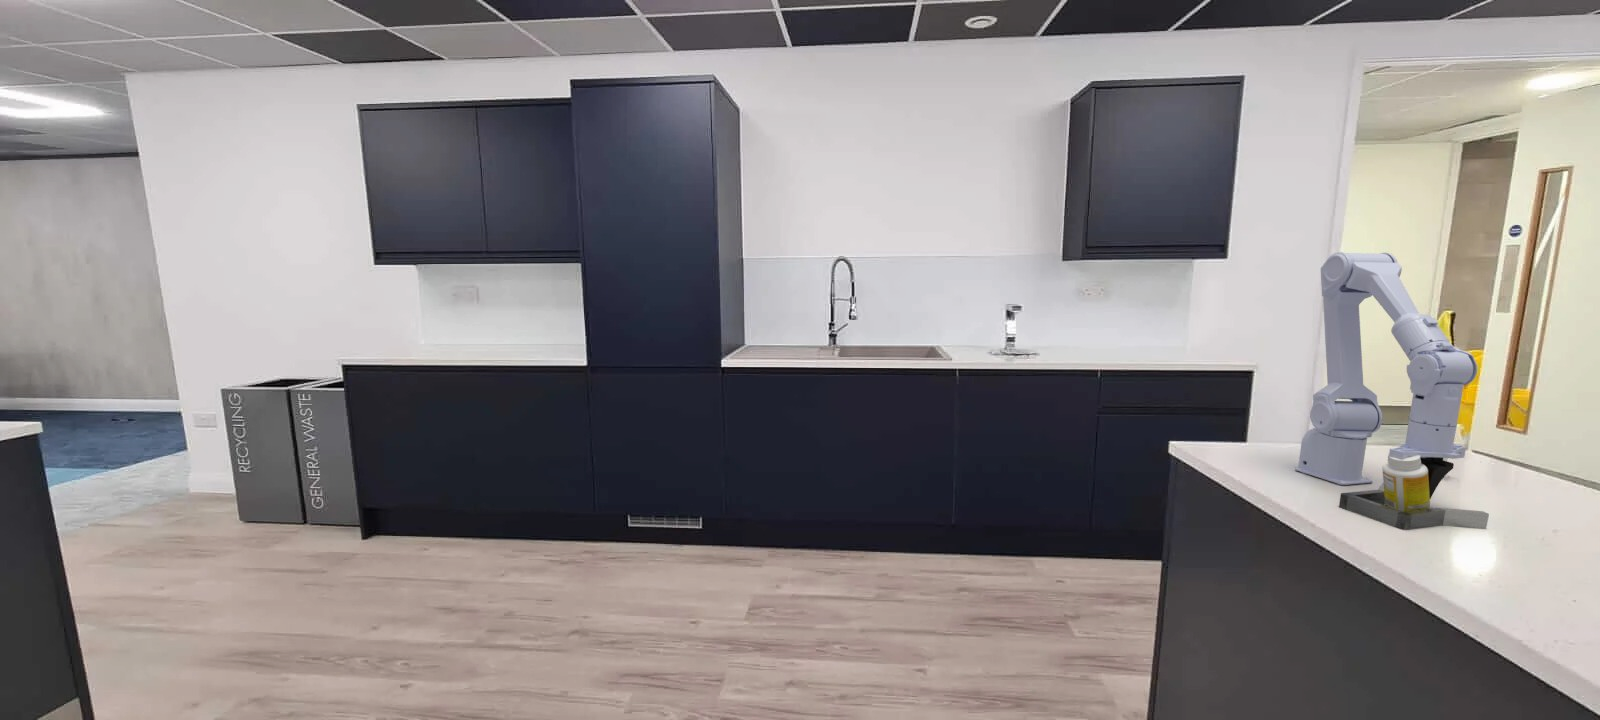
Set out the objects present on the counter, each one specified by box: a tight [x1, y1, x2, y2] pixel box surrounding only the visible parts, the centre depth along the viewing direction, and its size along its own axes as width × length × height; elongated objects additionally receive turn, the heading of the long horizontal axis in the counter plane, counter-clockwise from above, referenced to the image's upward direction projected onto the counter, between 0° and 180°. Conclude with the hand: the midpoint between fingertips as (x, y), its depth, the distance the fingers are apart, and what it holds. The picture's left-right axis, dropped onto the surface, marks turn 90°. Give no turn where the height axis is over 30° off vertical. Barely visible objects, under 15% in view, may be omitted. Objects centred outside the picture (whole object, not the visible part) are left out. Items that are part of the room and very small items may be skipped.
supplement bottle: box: [1381, 453, 1431, 511], centre depth 107 cm, size 6×6×10 cm
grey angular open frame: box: [1338, 482, 1490, 531], centre depth 109 cm, size 15×14×2 cm
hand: (1419, 500), depth 109 cm, fingers closed
